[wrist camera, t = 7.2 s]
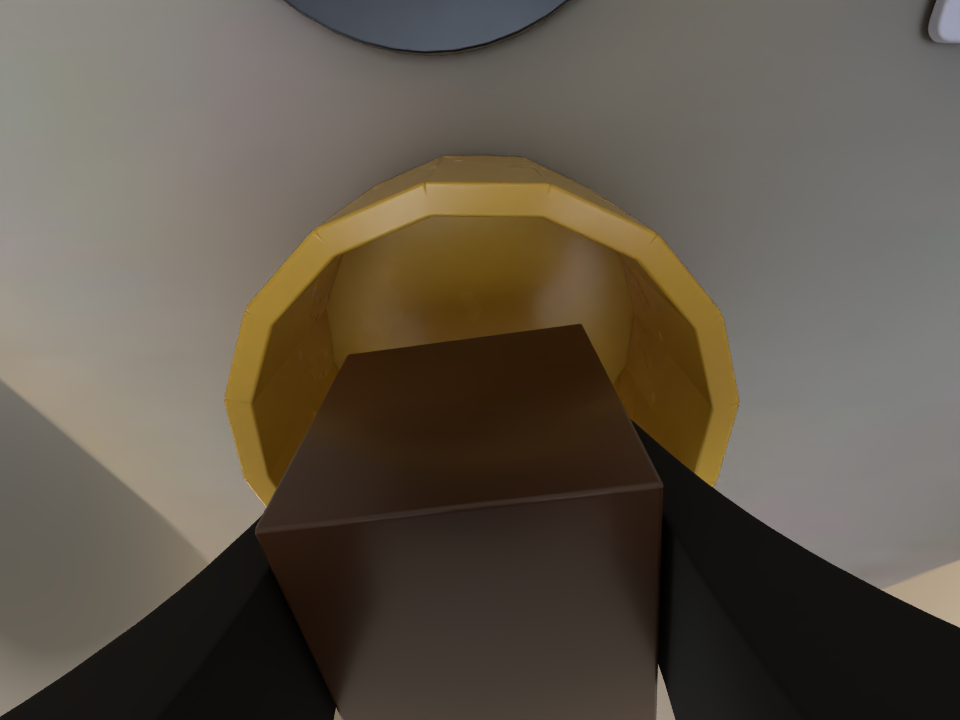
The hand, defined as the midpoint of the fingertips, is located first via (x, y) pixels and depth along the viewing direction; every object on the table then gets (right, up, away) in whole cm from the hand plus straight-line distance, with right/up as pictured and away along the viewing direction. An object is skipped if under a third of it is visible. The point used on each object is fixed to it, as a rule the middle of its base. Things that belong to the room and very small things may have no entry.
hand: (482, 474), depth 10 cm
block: (0, +1, +1) cm, 1 cm away
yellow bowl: (0, +3, +7) cm, 8 cm away
